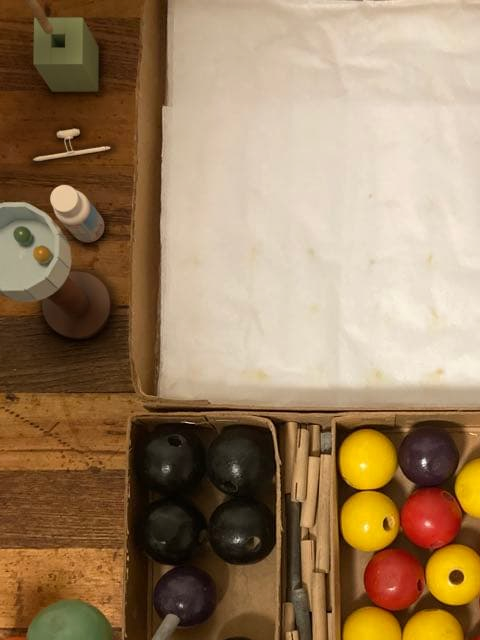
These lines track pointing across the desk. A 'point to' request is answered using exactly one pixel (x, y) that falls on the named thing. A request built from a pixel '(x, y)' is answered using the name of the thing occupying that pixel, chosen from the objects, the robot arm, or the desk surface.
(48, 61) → the stand
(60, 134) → the picture light
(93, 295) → the pedestal
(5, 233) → the bowl
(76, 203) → the pill bottle
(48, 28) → the stick
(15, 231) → the green bead
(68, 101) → the desk surface
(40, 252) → the yellow bead
